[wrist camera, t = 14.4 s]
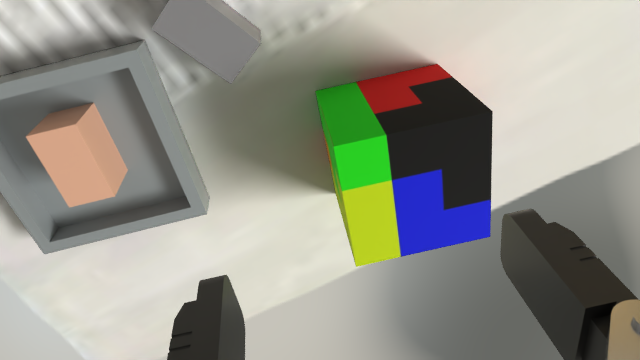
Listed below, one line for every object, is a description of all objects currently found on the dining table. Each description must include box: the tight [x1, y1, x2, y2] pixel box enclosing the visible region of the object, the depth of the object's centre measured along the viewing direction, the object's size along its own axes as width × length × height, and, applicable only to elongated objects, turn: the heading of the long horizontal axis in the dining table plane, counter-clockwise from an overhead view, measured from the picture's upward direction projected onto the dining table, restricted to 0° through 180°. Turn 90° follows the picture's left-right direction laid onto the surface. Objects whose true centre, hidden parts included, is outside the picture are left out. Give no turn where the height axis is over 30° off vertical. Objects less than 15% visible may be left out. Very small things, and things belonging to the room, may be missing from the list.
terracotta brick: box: [26, 103, 128, 208], centre depth 34 cm, size 6×4×4 cm, turn 12°
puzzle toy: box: [315, 64, 492, 267], centre depth 35 cm, size 10×10×10 cm
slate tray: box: [0, 40, 210, 254], centre depth 36 cm, size 14×14×3 cm
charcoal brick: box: [151, 0, 261, 84], centre depth 31 cm, size 6×4×4 cm, turn 51°
